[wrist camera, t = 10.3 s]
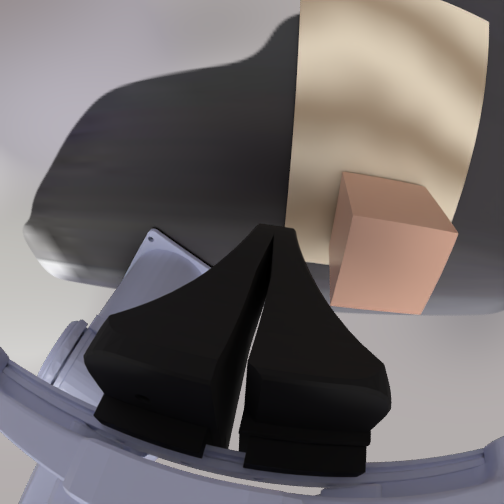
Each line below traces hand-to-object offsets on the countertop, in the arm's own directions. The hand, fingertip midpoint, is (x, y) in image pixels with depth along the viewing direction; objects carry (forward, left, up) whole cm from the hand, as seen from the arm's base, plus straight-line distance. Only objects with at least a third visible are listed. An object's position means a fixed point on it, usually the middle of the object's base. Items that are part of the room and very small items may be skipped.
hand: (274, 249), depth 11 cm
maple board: (+6, -3, -10) cm, 12 cm away
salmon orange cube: (+1, -6, -8) cm, 10 cm away
